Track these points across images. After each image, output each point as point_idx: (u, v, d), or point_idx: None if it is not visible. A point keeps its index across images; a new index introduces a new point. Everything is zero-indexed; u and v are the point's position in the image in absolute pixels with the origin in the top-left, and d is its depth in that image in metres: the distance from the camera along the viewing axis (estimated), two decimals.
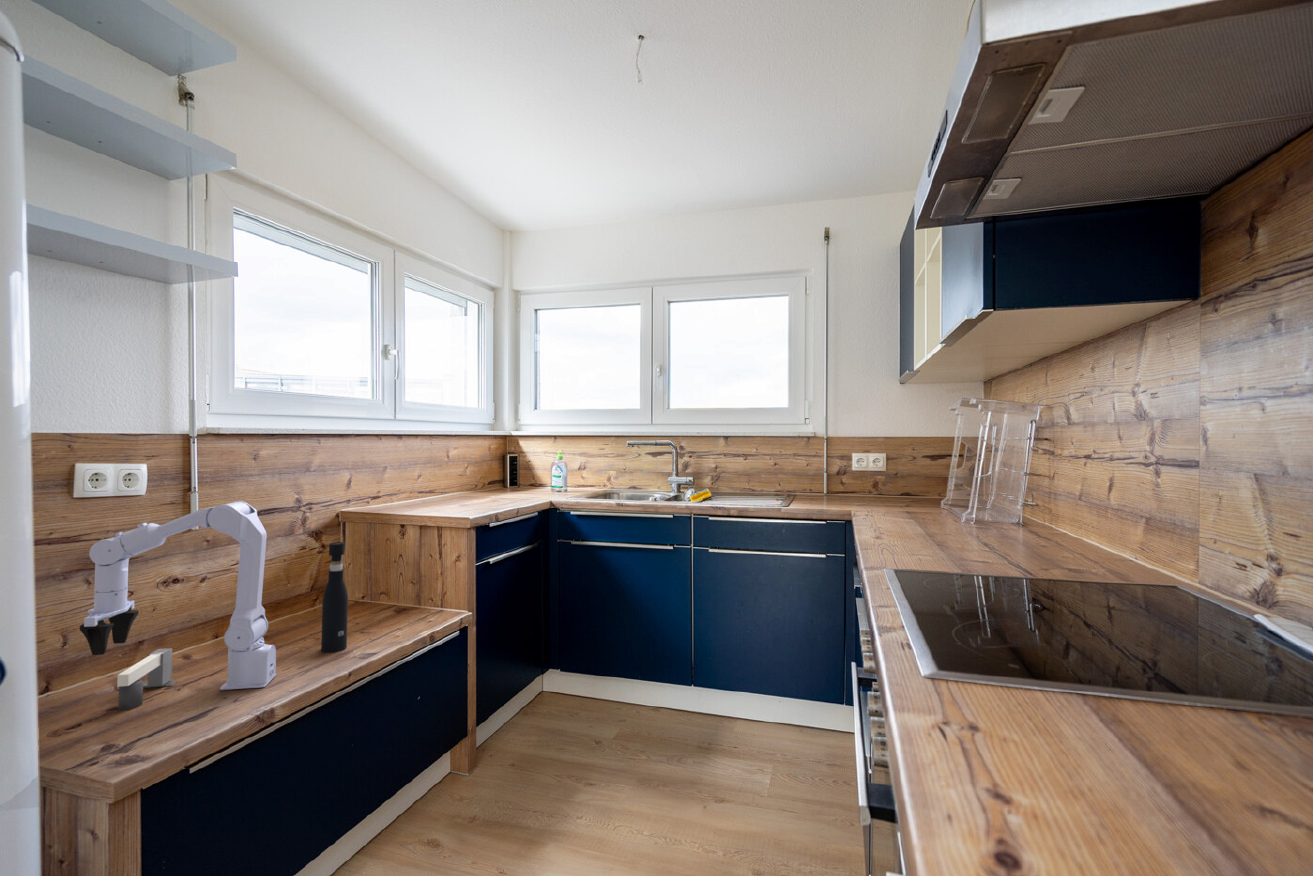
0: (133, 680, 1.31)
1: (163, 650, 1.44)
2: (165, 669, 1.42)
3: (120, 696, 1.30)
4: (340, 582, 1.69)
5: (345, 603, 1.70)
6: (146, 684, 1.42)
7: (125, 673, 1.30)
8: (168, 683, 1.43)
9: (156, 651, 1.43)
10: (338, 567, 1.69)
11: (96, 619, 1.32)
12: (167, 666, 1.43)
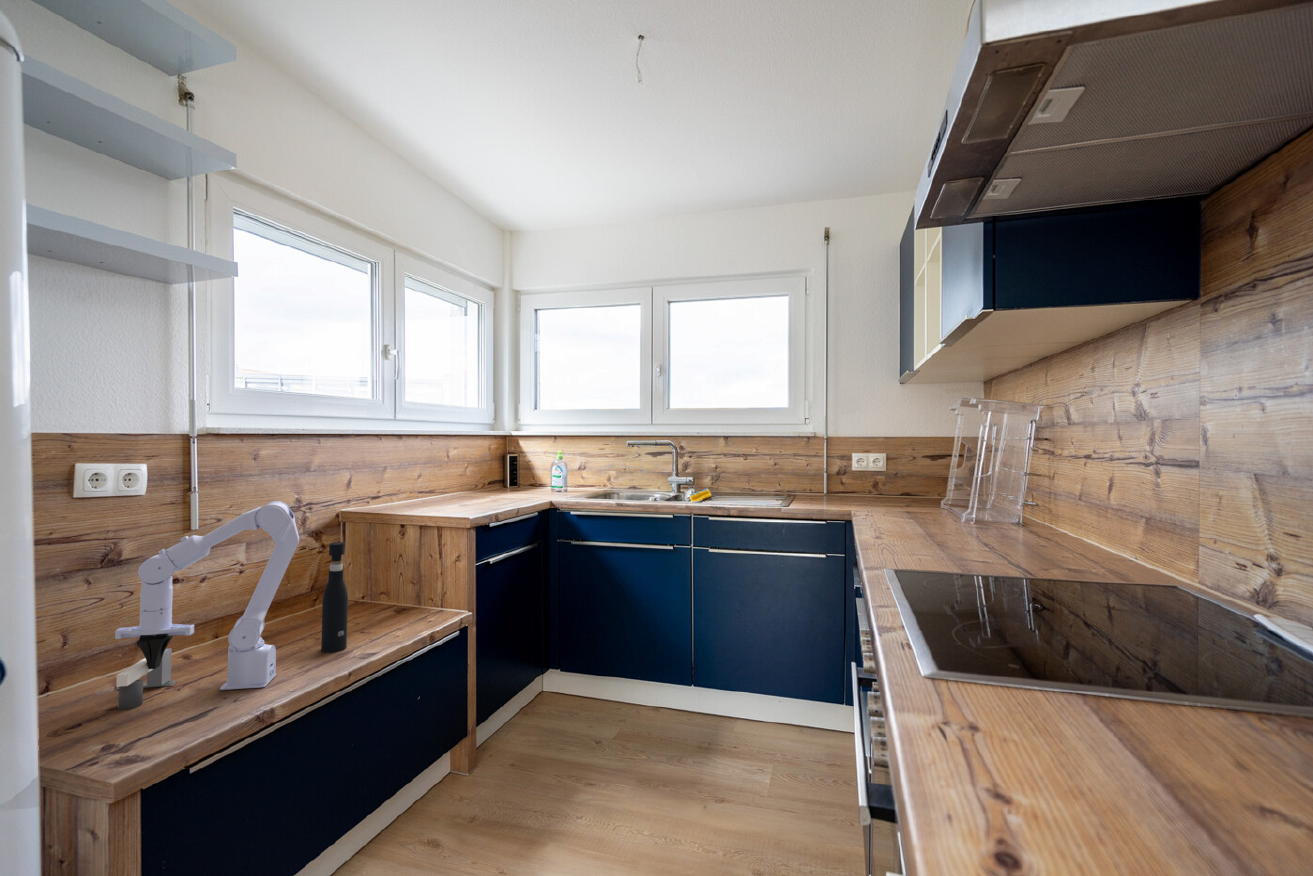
0: (132, 680, 1.31)
1: None
2: (164, 669, 1.42)
3: (120, 696, 1.30)
4: (340, 582, 1.69)
5: (345, 603, 1.70)
6: (146, 684, 1.42)
7: (124, 673, 1.30)
8: (168, 683, 1.43)
9: None
10: (338, 567, 1.69)
11: (117, 632, 1.35)
12: (166, 666, 1.43)
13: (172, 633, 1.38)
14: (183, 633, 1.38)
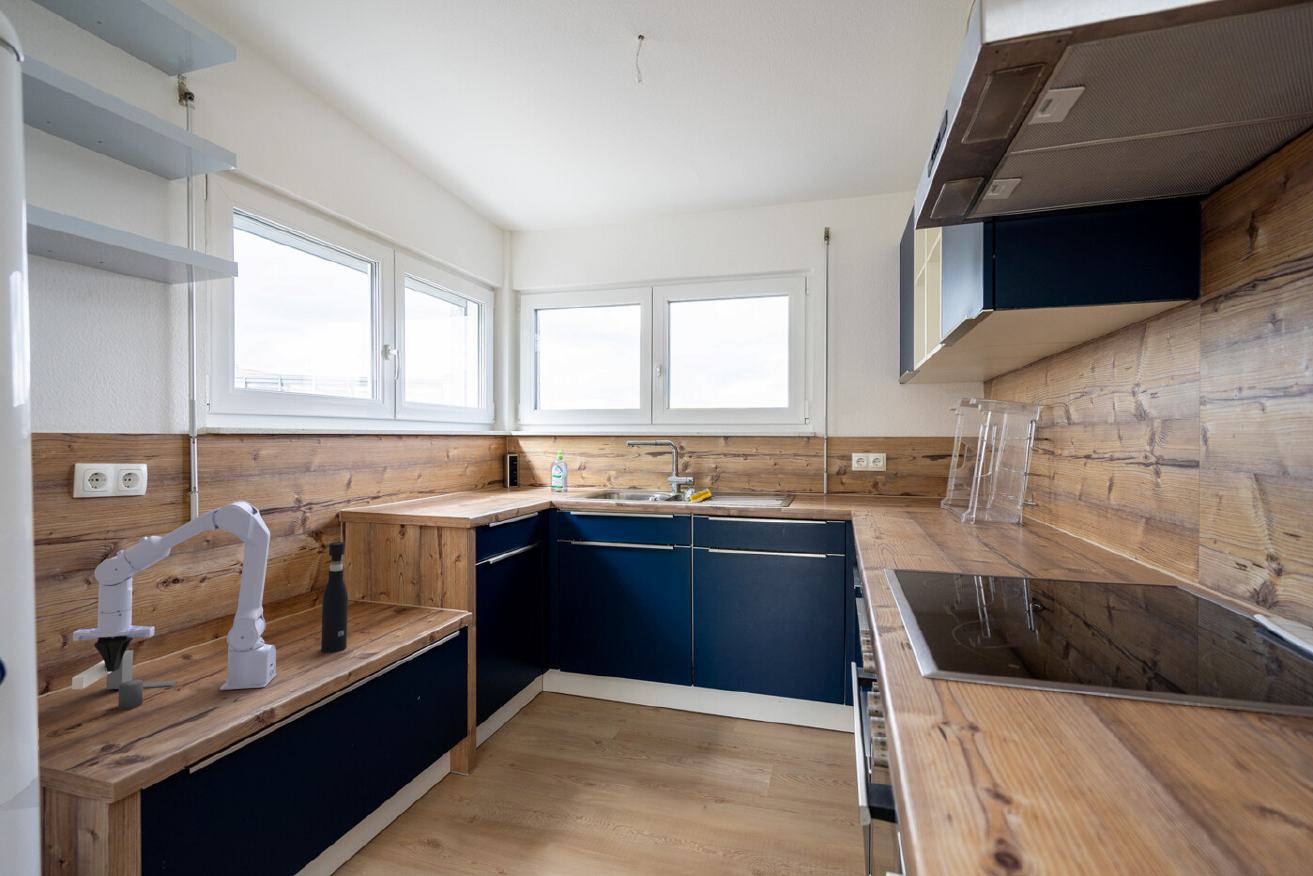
0: (89, 683, 1.29)
1: None
2: (124, 671, 1.40)
3: (120, 696, 1.30)
4: (340, 582, 1.69)
5: (345, 603, 1.70)
6: (146, 684, 1.42)
7: (80, 676, 1.28)
8: (168, 683, 1.43)
9: None
10: (338, 567, 1.69)
11: (75, 634, 1.33)
12: (127, 669, 1.41)
13: (131, 635, 1.36)
14: (143, 635, 1.36)
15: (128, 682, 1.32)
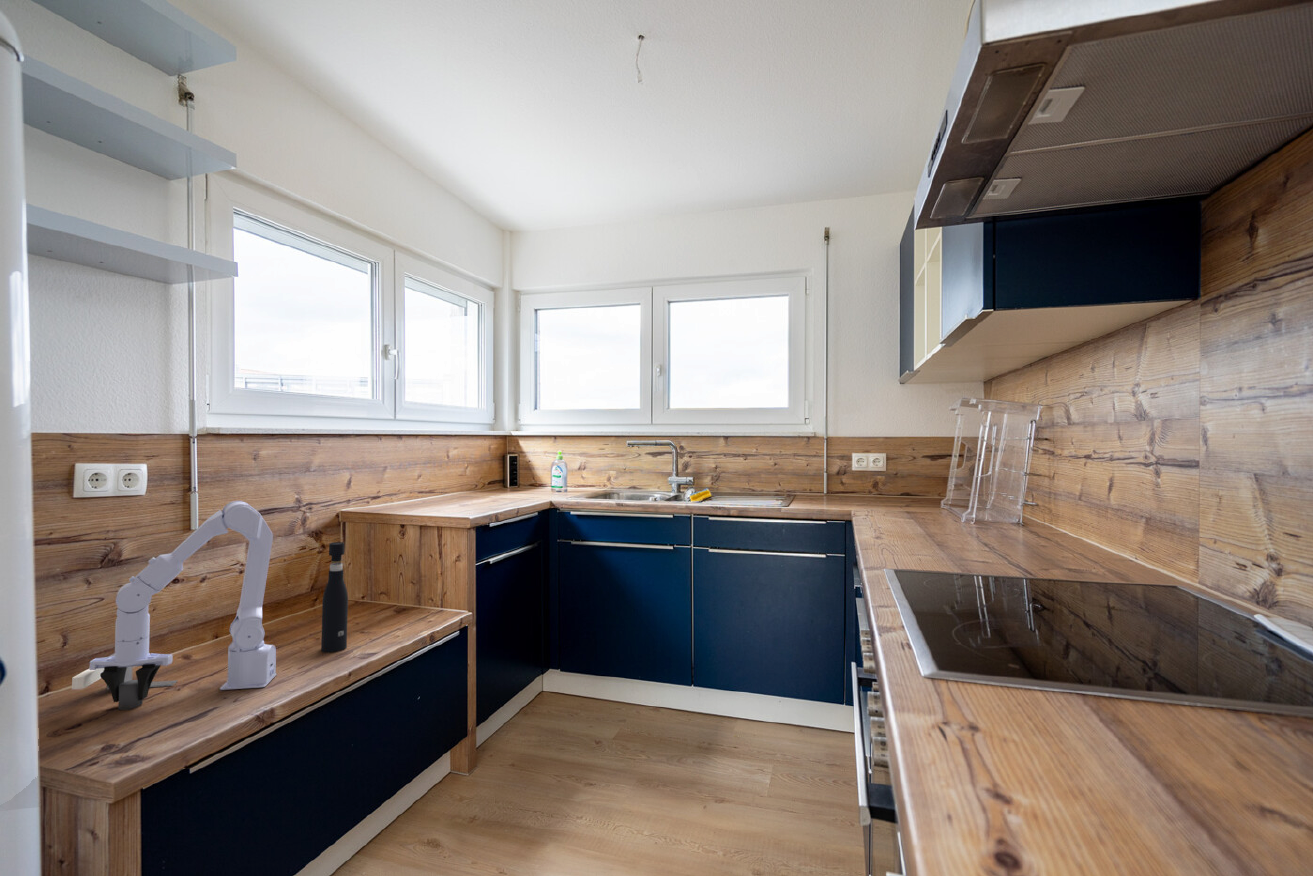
0: (89, 683, 1.29)
1: None
2: None
3: (120, 696, 1.30)
4: (340, 582, 1.69)
5: (345, 603, 1.70)
6: None
7: (80, 676, 1.28)
8: (168, 683, 1.43)
9: None
10: (338, 567, 1.69)
11: (92, 663, 1.29)
12: (127, 669, 1.41)
13: (149, 663, 1.33)
14: (161, 663, 1.33)
15: (128, 682, 1.32)
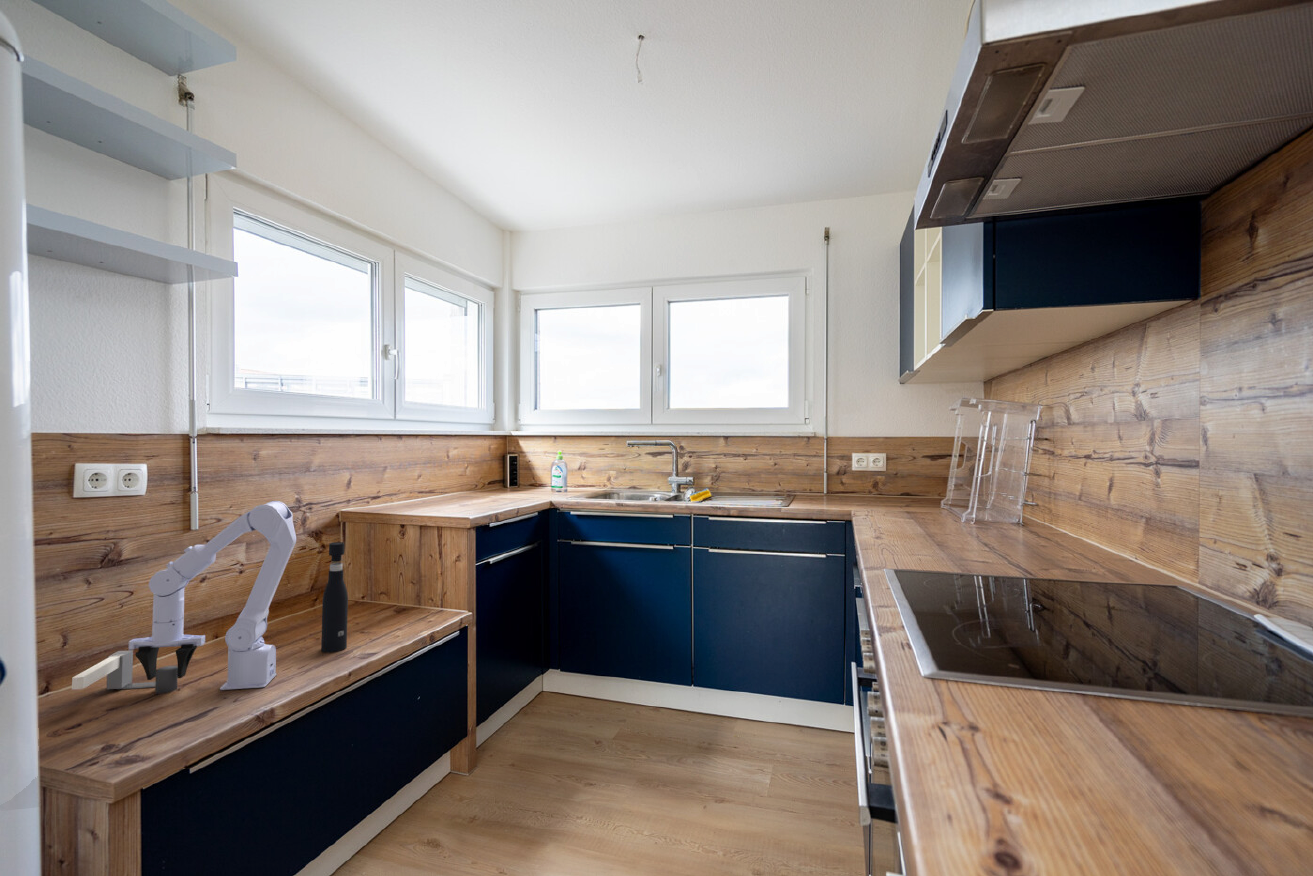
0: (89, 683, 1.29)
1: (123, 652, 1.42)
2: (124, 671, 1.40)
3: (157, 680, 1.39)
4: (340, 582, 1.69)
5: (345, 603, 1.70)
6: (146, 684, 1.42)
7: (80, 676, 1.28)
8: None
9: (116, 653, 1.41)
10: (338, 567, 1.69)
11: (131, 643, 1.38)
12: (127, 669, 1.41)
13: (184, 644, 1.41)
14: (194, 644, 1.42)
15: (164, 668, 1.41)
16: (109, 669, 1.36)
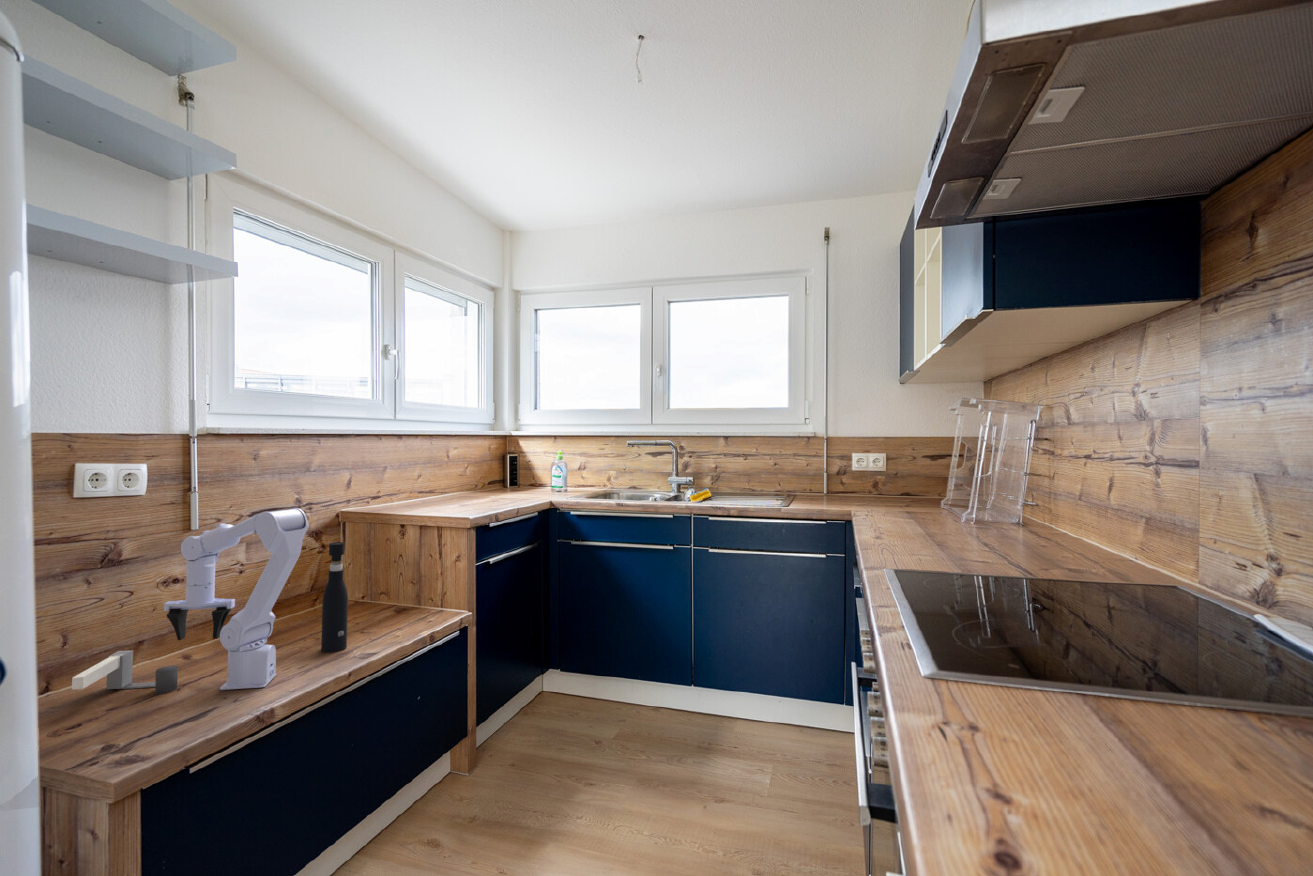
0: (89, 683, 1.29)
1: (123, 652, 1.42)
2: (124, 671, 1.40)
3: (157, 681, 1.39)
4: (340, 582, 1.69)
5: (345, 603, 1.70)
6: (146, 684, 1.42)
7: (80, 676, 1.28)
8: None
9: (116, 653, 1.41)
10: (338, 567, 1.69)
11: (166, 605, 1.46)
12: (127, 669, 1.41)
13: (215, 606, 1.50)
14: (225, 606, 1.50)
15: (164, 668, 1.41)
16: (109, 669, 1.36)
